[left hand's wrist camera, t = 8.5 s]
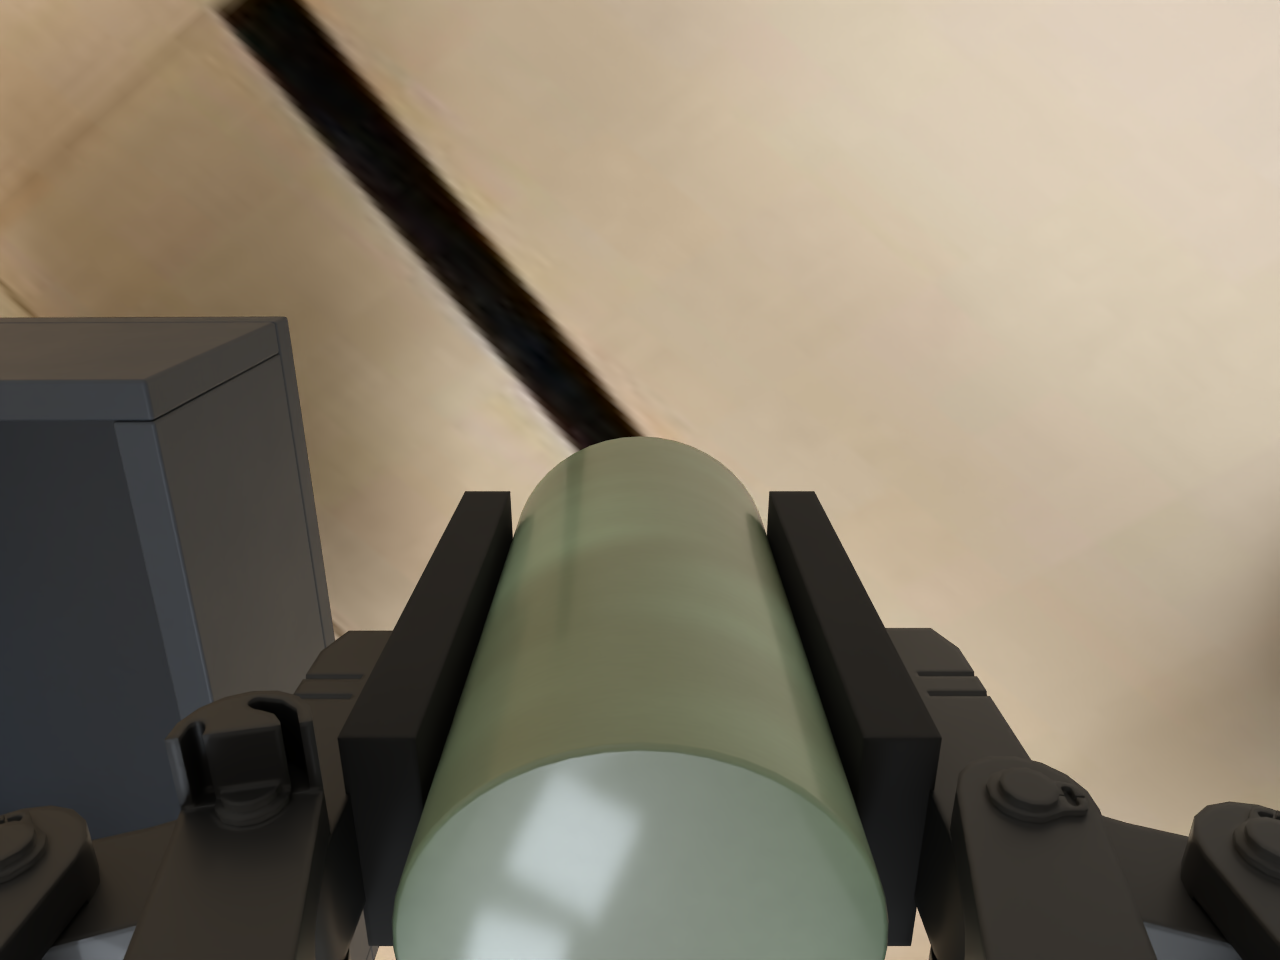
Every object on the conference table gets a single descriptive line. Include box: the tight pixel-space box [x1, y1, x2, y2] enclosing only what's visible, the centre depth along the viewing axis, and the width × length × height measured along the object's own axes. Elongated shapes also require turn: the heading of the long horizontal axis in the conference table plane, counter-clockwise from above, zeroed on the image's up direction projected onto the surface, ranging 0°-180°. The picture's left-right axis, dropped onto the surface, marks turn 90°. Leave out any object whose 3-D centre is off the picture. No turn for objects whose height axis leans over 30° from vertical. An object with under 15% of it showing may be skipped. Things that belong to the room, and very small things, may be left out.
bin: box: [0, 317, 379, 960], centre depth 23 cm, size 14×22×7 cm, turn 0°
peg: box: [392, 437, 889, 960], centre depth 11 cm, size 4×4×8 cm
